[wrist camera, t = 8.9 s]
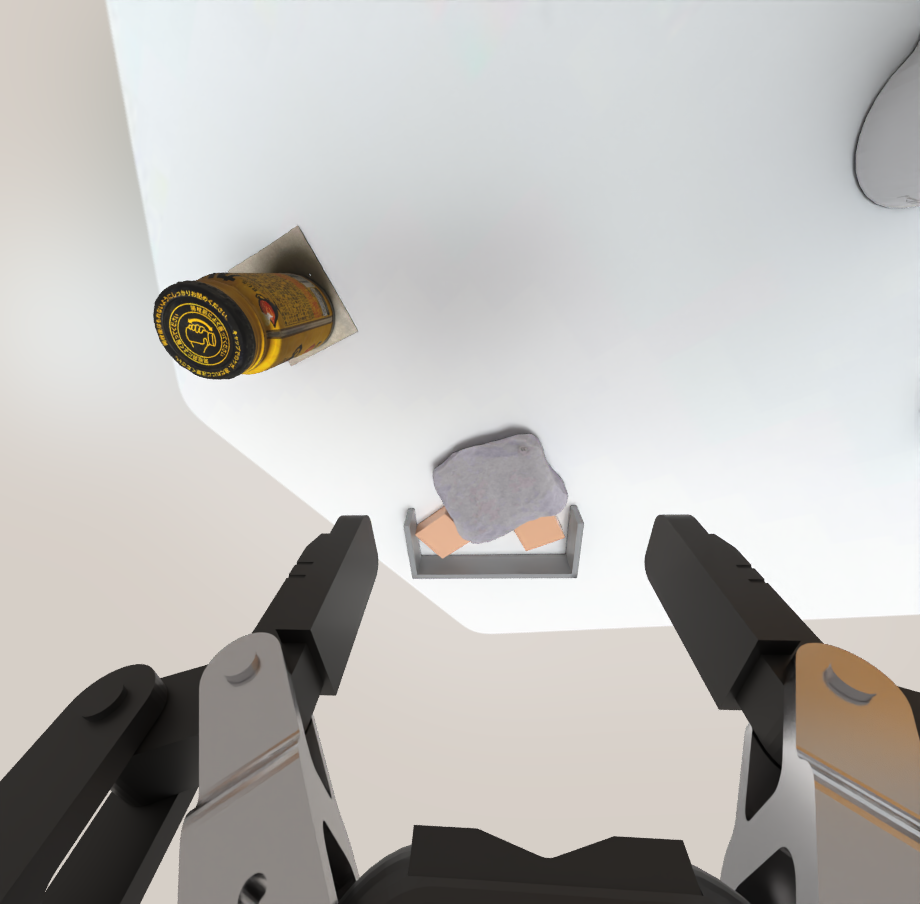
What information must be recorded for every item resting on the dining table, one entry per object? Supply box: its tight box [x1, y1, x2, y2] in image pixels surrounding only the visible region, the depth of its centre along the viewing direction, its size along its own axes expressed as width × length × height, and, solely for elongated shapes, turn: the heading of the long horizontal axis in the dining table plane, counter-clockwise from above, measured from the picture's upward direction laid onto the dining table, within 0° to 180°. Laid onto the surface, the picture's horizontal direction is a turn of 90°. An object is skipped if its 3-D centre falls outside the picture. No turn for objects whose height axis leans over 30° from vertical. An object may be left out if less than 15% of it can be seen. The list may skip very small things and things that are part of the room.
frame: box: [404, 505, 584, 579], centre depth 38 cm, size 8×18×3 cm, turn 94°
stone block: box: [433, 434, 568, 544], centre depth 35 cm, size 12×5×10 cm
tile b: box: [514, 515, 565, 551], centre depth 38 cm, size 4×4×2 cm
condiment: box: [153, 226, 358, 379], centre depth 24 cm, size 7×8×12 cm
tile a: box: [415, 506, 470, 559], centre depth 39 cm, size 4×4×2 cm
